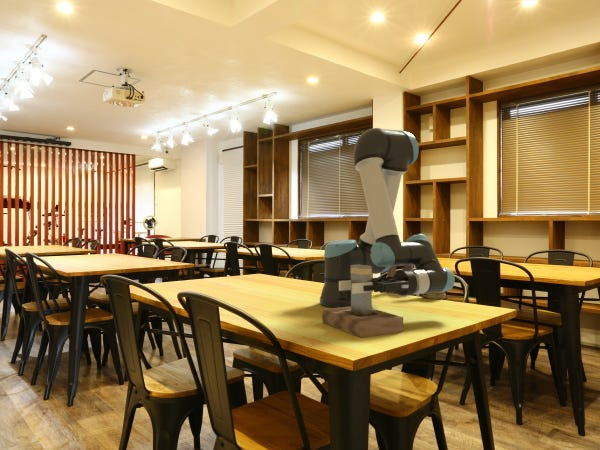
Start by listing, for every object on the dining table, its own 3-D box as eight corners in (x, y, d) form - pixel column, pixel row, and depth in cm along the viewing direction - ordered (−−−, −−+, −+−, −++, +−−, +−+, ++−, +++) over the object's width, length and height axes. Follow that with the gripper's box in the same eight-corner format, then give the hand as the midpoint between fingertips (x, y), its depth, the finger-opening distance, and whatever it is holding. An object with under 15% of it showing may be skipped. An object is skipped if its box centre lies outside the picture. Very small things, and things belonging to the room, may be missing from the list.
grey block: (350, 313, 133) (350, 265, 133) (359, 312, 134) (359, 264, 134) (362, 316, 127) (362, 266, 127) (372, 315, 129) (371, 266, 129)
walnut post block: (322, 322, 137) (322, 309, 137) (361, 318, 143) (361, 305, 143) (360, 337, 119) (360, 322, 119) (403, 331, 125) (403, 317, 125)
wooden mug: (412, 294, 190) (412, 251, 190) (446, 296, 186) (446, 252, 186) (410, 298, 182) (410, 252, 182) (446, 299, 177) (446, 253, 177)
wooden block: (411, 294, 190) (411, 251, 190) (386, 293, 194) (386, 250, 194) (413, 293, 193) (413, 251, 193) (388, 291, 198) (388, 250, 198)
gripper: (432, 299, 130) (365, 305, 120) (390, 290, 147) (328, 296, 137) (432, 272, 130) (365, 277, 120) (390, 267, 147) (328, 271, 137)
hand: (346, 287), depth 128 cm, fingers closed on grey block, 6 cm apart
